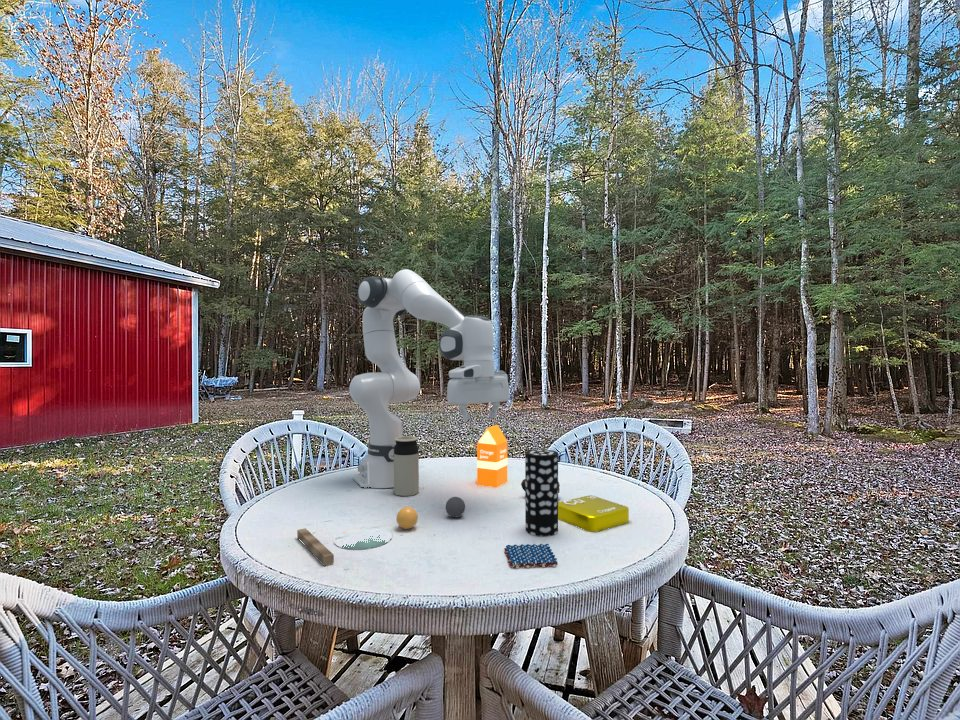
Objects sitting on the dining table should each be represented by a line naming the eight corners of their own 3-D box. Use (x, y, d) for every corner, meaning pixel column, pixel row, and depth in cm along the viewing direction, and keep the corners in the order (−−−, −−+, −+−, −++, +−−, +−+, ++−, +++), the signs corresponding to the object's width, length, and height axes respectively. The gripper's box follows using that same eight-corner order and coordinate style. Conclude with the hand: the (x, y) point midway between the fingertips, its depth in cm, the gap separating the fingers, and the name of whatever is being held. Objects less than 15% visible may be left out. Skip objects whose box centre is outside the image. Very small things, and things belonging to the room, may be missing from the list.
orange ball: (392, 527, 129) (392, 506, 128) (411, 523, 132) (411, 502, 132) (402, 533, 124) (402, 511, 124) (421, 529, 127) (421, 507, 127)
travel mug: (416, 496, 156) (416, 440, 156) (391, 496, 156) (391, 440, 156) (420, 489, 164) (420, 436, 164) (396, 489, 164) (396, 436, 164)
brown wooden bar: (297, 538, 121) (297, 530, 121) (305, 536, 122) (305, 528, 122) (324, 566, 105) (324, 556, 105) (333, 563, 106) (333, 554, 106)
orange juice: (476, 484, 170) (476, 427, 170) (488, 479, 178) (488, 424, 178) (497, 487, 167) (497, 428, 166) (507, 481, 174) (507, 425, 174)
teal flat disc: (325, 536, 122) (325, 535, 122) (377, 524, 131) (377, 523, 131) (346, 554, 111) (346, 553, 111) (402, 540, 119) (402, 539, 119)
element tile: (592, 535, 124) (592, 516, 124) (552, 518, 137) (552, 501, 137) (632, 523, 132) (632, 505, 132) (590, 509, 145) (590, 492, 145)
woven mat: (503, 552, 114) (503, 543, 114) (548, 550, 115) (548, 542, 115) (508, 572, 103) (508, 562, 103) (558, 570, 104) (558, 560, 104)
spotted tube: (536, 522, 132) (536, 448, 132) (564, 529, 127) (564, 452, 126) (519, 531, 126) (518, 453, 125) (547, 539, 120) (547, 457, 120)
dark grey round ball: (441, 516, 137) (441, 496, 137) (458, 512, 141) (458, 493, 141) (452, 521, 133) (452, 501, 133) (469, 517, 136) (469, 497, 136)
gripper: (500, 370, 151) (501, 415, 151) (443, 371, 139) (444, 420, 139) (513, 370, 146) (514, 416, 146) (455, 372, 134) (456, 422, 134)
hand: (480, 418), depth 142 cm, fingers open, 8 cm apart
